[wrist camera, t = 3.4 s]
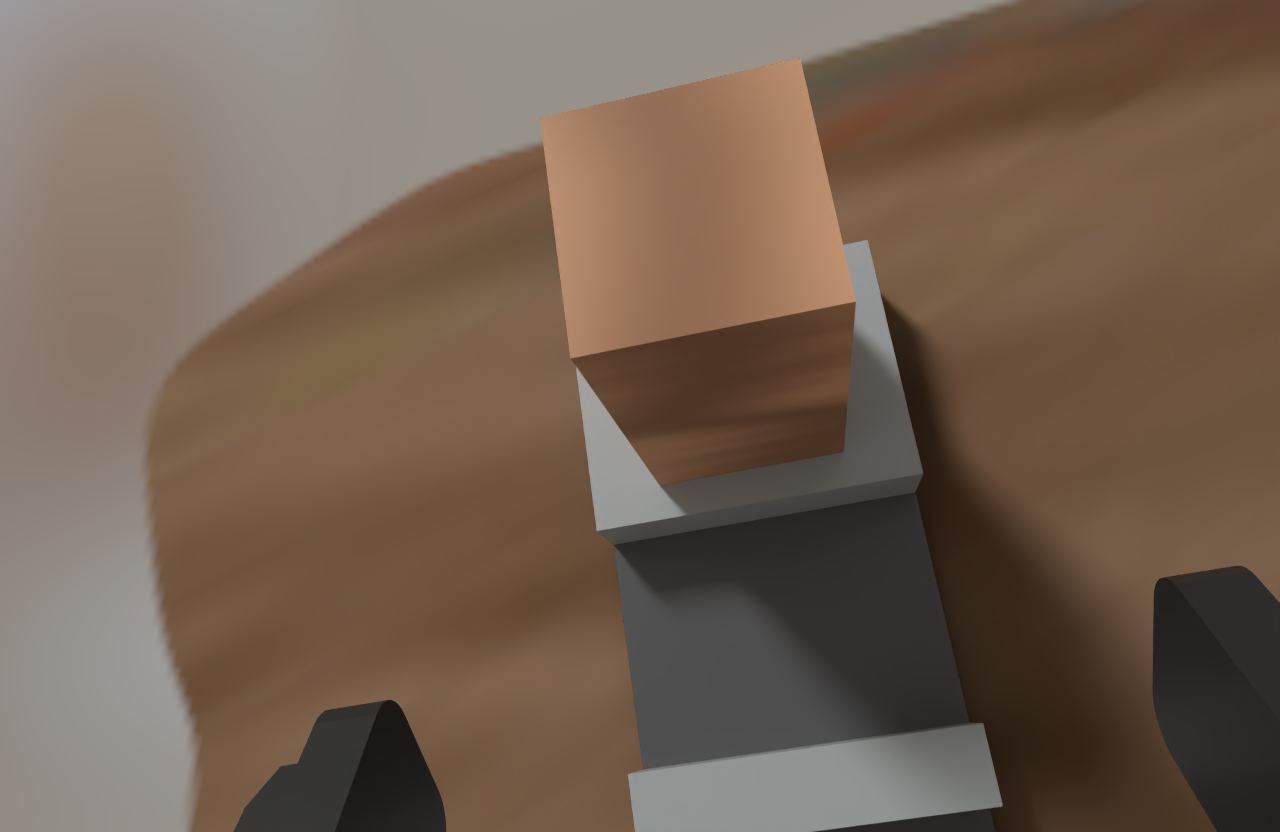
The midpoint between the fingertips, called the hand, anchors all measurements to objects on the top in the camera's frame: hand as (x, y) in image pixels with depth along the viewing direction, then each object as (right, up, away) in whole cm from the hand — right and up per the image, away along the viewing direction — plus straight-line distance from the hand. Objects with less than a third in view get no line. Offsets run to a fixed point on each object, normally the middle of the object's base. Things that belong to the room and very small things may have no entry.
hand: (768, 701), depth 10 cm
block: (+1, +4, +11) cm, 12 cm away
